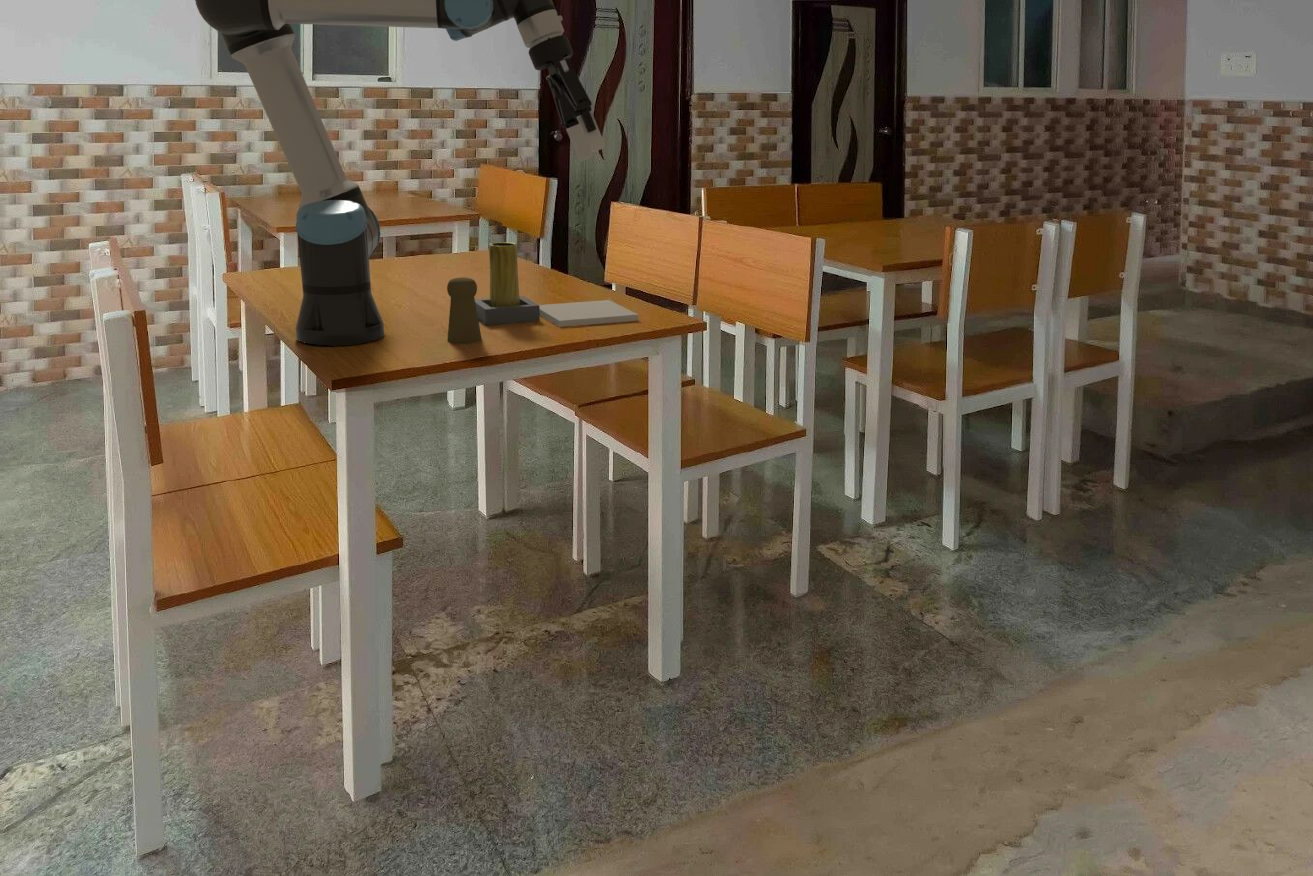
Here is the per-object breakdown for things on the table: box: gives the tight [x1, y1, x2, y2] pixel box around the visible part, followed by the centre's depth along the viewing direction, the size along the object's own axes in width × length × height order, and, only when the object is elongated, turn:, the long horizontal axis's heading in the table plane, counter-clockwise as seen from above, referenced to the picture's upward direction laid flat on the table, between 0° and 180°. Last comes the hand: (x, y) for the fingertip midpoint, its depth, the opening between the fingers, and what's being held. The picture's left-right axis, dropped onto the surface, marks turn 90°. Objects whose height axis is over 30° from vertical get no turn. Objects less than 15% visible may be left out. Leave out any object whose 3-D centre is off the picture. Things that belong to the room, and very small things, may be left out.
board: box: [538, 299, 639, 328], centre depth 218 cm, size 16×16×1 cm
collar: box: [475, 295, 541, 326], centre depth 215 cm, size 11×11×3 cm
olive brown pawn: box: [446, 276, 483, 345], centre depth 195 cm, size 6×6×11 cm
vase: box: [488, 241, 520, 307], centre depth 213 cm, size 6×6×14 cm
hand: (592, 155), depth 203 cm, fingers open, 13 cm apart
